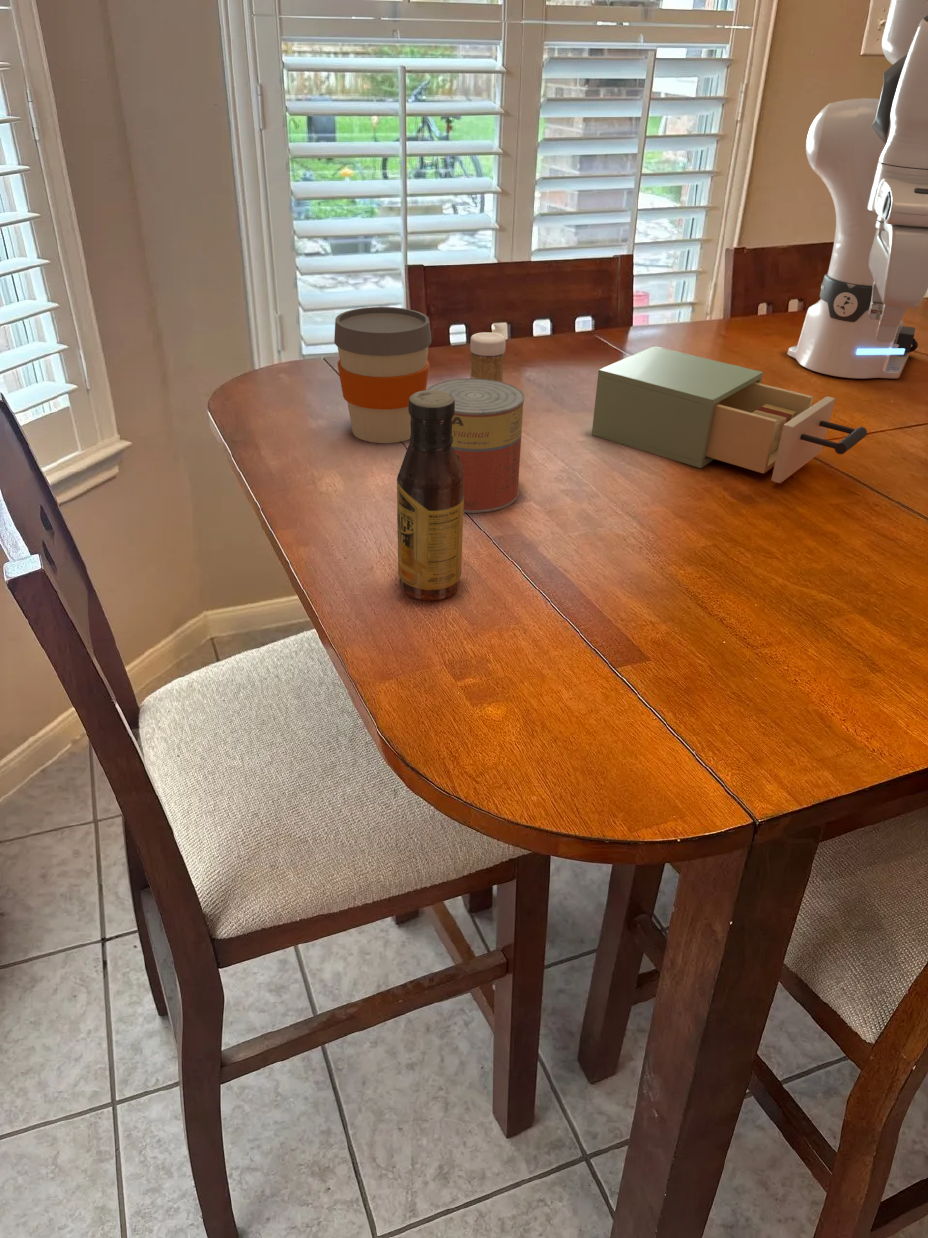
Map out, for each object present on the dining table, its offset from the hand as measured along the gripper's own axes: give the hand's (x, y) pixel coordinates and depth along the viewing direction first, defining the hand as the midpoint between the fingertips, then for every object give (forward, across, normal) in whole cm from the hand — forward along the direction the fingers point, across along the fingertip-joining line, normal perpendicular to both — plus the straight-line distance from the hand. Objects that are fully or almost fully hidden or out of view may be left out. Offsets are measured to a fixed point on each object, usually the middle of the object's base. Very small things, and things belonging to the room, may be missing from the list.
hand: (879, 328), depth 103 cm
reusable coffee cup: (+19, +2, -59) cm, 62 cm away
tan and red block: (+17, -4, -10) cm, 20 cm away
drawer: (+18, -4, -9) cm, 21 cm away
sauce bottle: (+20, +39, -41) cm, 60 cm away
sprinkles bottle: (+19, -1, -46) cm, 50 cm away
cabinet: (+19, -10, -21) cm, 30 cm away
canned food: (+20, +17, -43) cm, 50 cm away
